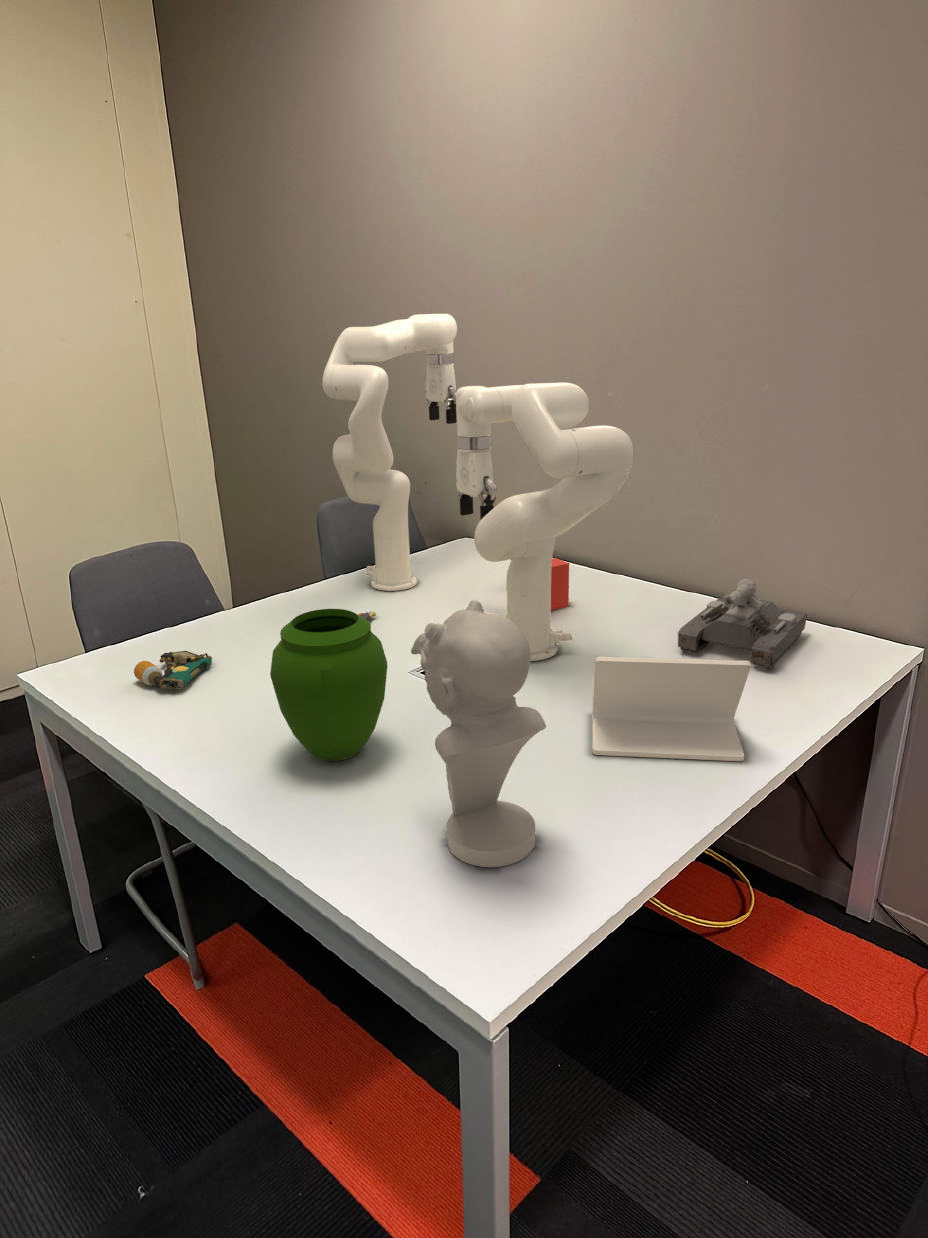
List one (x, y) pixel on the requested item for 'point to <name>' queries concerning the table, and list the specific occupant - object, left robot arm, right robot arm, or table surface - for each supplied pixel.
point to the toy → (744, 626)
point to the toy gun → (367, 615)
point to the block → (559, 584)
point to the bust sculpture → (481, 729)
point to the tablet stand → (667, 707)
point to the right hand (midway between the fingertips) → (476, 518)
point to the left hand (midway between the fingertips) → (442, 421)
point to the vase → (330, 681)
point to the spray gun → (172, 669)
